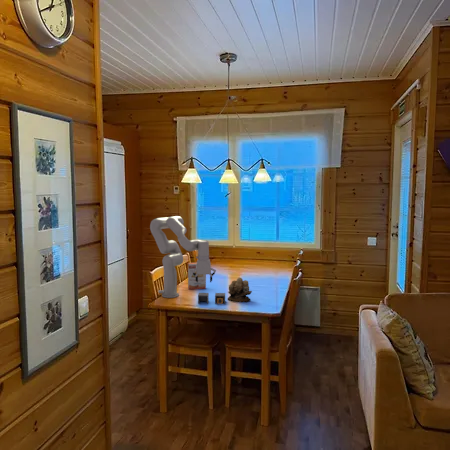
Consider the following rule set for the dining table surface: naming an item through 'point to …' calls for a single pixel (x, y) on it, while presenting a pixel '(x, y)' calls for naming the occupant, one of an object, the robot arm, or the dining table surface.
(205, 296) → the left cover
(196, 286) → the cracker box
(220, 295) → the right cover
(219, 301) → the letter cube
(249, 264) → the dining table surface
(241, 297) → the brown stone statue
